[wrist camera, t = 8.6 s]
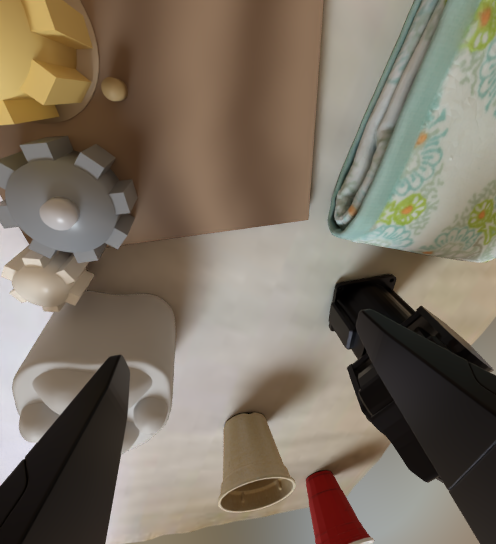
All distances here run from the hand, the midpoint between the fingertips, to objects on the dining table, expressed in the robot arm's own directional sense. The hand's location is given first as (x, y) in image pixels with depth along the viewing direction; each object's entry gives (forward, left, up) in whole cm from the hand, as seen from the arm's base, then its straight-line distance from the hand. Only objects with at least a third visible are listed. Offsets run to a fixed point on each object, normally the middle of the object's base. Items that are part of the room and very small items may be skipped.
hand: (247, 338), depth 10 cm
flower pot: (0, +32, -13) cm, 35 cm away
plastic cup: (-14, +60, -13) cm, 63 cm away
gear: (+8, -3, -12) cm, 15 cm away
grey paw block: (+11, +12, -13) cm, 21 cm away
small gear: (+12, +2, -12) cm, 17 cm away
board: (+3, -7, -13) cm, 15 cm away
